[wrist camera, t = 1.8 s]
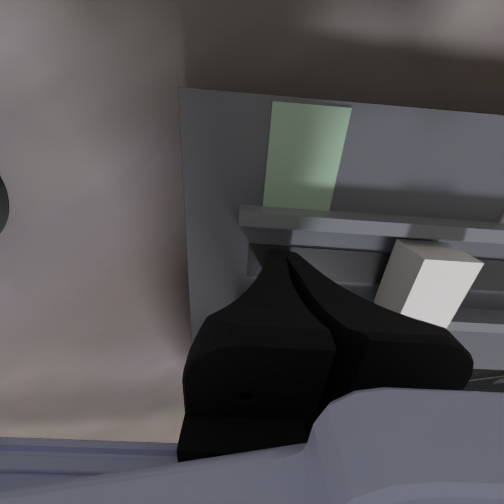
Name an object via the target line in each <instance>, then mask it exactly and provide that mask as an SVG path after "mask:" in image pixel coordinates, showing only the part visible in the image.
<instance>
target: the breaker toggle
mask: <svg viewBox="0 0 504 504" xmlns="http://www.w3.org/2000/svg"><path fill="white" fill-rule="evenodd" d="M483 265H484V263H483V262H481V261H480V260H478V259H476V258H474V257H473V256H471V255H469V254H467V253H465V252H464V251H462V250H460V249H458V248H456V247H455V246H453V245H451V244H449V243H448V242H436V241H421V240H407V239H397V240H396V242H395V245H394V248H393V250H392V253H391V256H390V258H389V261H388V264H387V266H386V269H385V272H384V275H383V277H382V280H381V283H380V285H379V288H378V291H377V293H376V296H375V299H374V303H375V304H377V305H379V306H382V307H384V308H387V309H389V310H392V311H394V312H397V313H400V314H402V315H405V316H408V317H411V318H414V319H418V320H421V321H424V322H427V323H431V324H434V325H437V326H441V327H444V328H446V329H447V327H448V325H449V324H450V322H451V320H452V318H453V317H454V315H455V313H456V312H457V310H458V308H459V306H460V305H461V303H462V301H463V299H464V298H465V296H466V294H467V292H468V291H469V289H470V287H471V285H472V284H473V282H474V280H475V279H476V277H477V275H478V273H479V272H480V270H481V268H482V266H483Z"/></svg>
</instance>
